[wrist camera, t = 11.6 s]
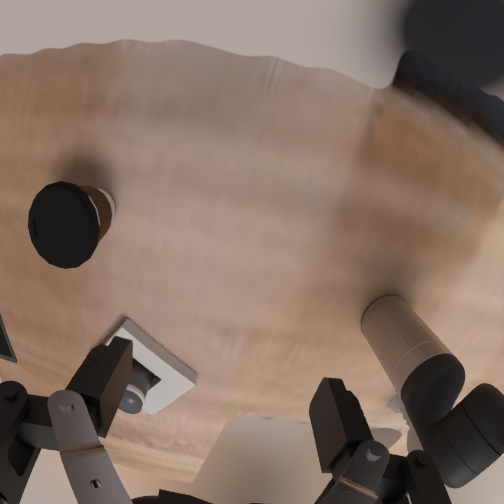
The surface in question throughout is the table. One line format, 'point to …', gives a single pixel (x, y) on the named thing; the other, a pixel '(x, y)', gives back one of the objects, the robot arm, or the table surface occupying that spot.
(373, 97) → the table surface
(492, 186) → the table surface
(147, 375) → the lens
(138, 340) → the plate
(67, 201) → the coffee cup
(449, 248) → the table surface
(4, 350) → the cell phone
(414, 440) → the chalice
